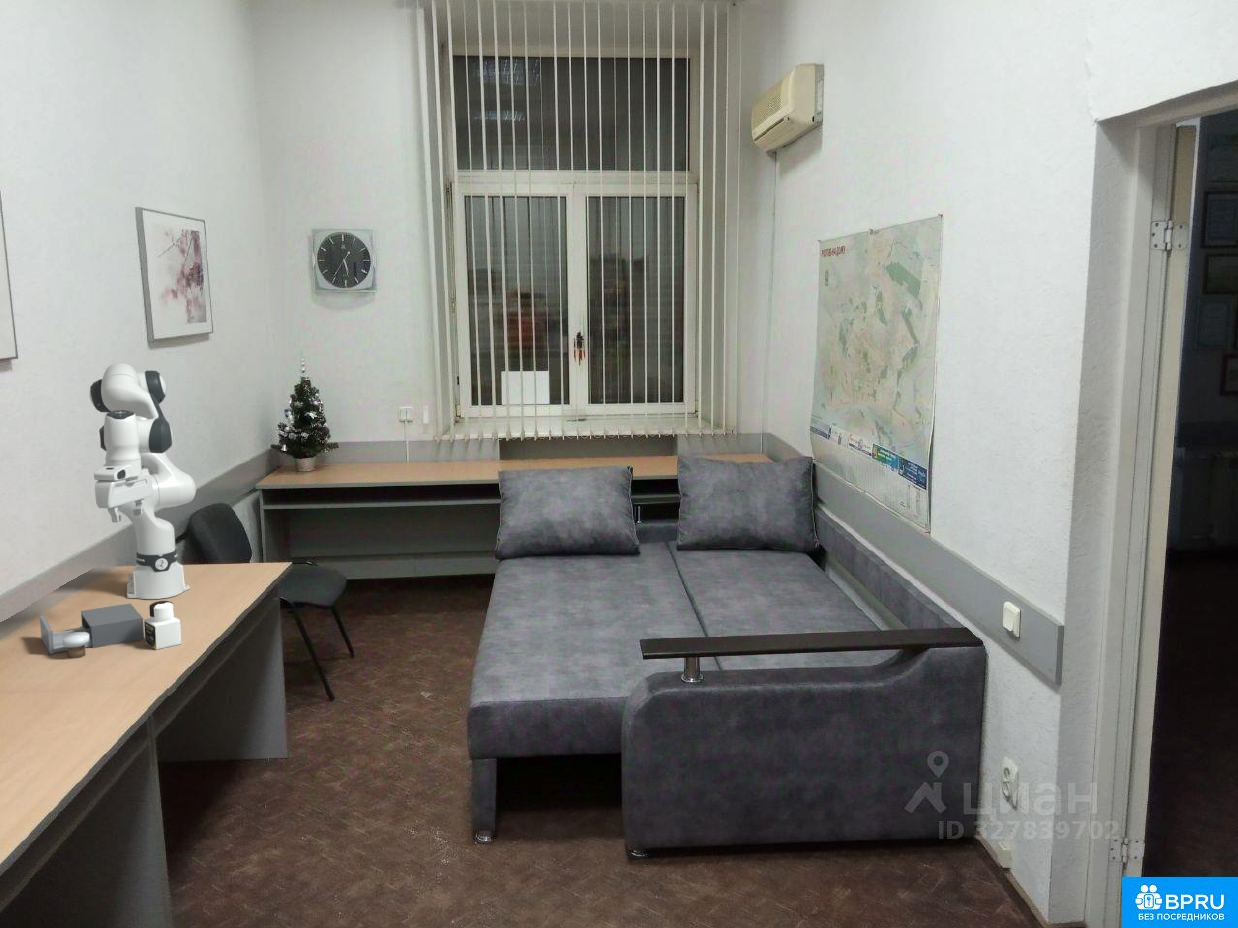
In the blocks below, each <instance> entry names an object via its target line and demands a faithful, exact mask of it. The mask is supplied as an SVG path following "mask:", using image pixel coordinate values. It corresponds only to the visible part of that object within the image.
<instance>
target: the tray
mask: <svg viewBox="0 0 1238 928" xmlns="http://www.w3.org/2000/svg"><path fill="white" fill-rule="evenodd" d="M39 623H40V637H41V640H42V642H43V644H44V646H45V648H46V650H47V651H48V652H47V653H49V655H50V656H51V655H55V653H56V654H57V653H59V652H68V647H64V646H63V645H62V637H63V636H64V635H66V634H69V633H75V632H86V633H89V639H90V642H89V643H88V644H86V645H85V648H89V647H90V648H91V647H92V633H91V627H90V628H84V626H82V625H81V626H80V628H76V629H70V630H65V631H58V632H53V629H52V628H51V625H50V623H49V622H48V620H47V618H46V616H45V615H43V614H42V615H39Z"/></svg>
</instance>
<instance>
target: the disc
mask: <svg viewBox="0 0 1238 928" xmlns="http://www.w3.org/2000/svg"><path fill="white" fill-rule="evenodd" d="M89 642H90V639H89V633H86V632H75V633H69V634H66V635H64V636H63V637H62V645H63V646H64V647H79V646H83V645H86V644H88V643H89Z"/></svg>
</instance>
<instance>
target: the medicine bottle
mask: <svg viewBox="0 0 1238 928" xmlns="http://www.w3.org/2000/svg"><path fill="white" fill-rule="evenodd" d="M148 608H149V618H146V619H143V627H144V640H145V641H144V642H145V645H147V646H149V647H151V648H152V649H154V650H155V651H157V650H163V649H167V648H171V647H175V646H180V645H182V631H181V620H180V619H179V618H177V617H175V611H174V603H173V602H172V601H168V600H160V601H155V602H152V603H150V605H149V607H148Z"/></svg>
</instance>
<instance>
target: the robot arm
mask: <svg viewBox="0 0 1238 928" xmlns="http://www.w3.org/2000/svg"><path fill="white" fill-rule="evenodd" d="M102 375H103V376H102V378H100V379H98V380H96V381H94V382H93V383H92V384H91V385H90V386H89V387H90V388H89V398H90V402H91V404H92V406H94V408H95V410H96V411H99V412H100V413H106V414H105V415H104V423H103V425H102V426H101V428H99V431H98V432H99V439H100V441H99V442H100V446H99V447H100V448H101V449H102V450H103V451H104V452H106V455H105V464H103V465H102V466H101V467H100V468H99V469H98V470H96V471H95V472H94V473H93V479H94V481H96V482H95V486H94V493H95V494H94V495H95V502H96V505H97V507H98V508H99V509H107V512H108V513H109V515H110V517H111V522H112V523H119V522H121V520H122V519H121V518H122V516H121V514H119V513H118V511H119V512H120V513H122V514H123V515H125V516H126V517H127V518H128V519H129V520H130V522H131V524H132V525H133V527H134V528H133V529H134V531H135V537H136V546H137V551H136V554H135V559H136V560H135V563H136V565H135V566H134V568H133V572H132V573H131V572H130V573H127V579H128V583H126V598H128V599H141V600H158V599H167V598H172V597H175V596H179V595H180V594H182V593H184V592H186V591H189V590H190V589H191V587H190V585H189V584H187V583H185V578H184V577H185V575H184V567H183V565H182V563H180V562H178V556H179V555H178V550H177V548H176V538H175V527H174V525H173V524H172V523H171V522H170V521H168V520H165V519H162V518H160V517H157V516H156V515H155V510H157V509H166V508H174V507H175V508H176V507H178V506H179V507H180V506H181V505H182V506H183V505H185V504H188V503H191V502H192V501H193V500H194V498H195V496H196V493H197V485H196V482H195V480H194V479H193V477H192V476H191V475H190V474H189V473H186V472H184V471H183V470H180V469H179V468H178V467H177V466H176V465H174V463H173V462H172V461H171V459H169V457H168V455H167V453H166V452H167V451H168V450H169V449H170V448H171V447H172V445H173V441H174V433H173V429H172V427H171V424H170V423H169V422H168V420H167V419H166V417H165V415H164V413H163V411H162V409H161V406H160V404H161V403H162V402H163V401H164V400H165V398H166V396H167V394H166V393H167V382H166V381H165V379H164V378H163V376H162V375H161V373H160V372H158V371H157V370H145V371H137V370H136V369H135V368H134V367H133V366H132V365H131V364H127V363H125V362H117V363H116V362H115V363H113V364H110V365H109V366H108V367H107V368H106V370H105V371H104V373H103V374H102ZM129 581H130V582H129Z"/></svg>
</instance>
